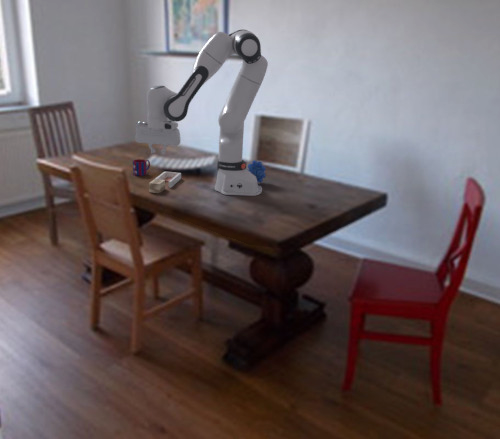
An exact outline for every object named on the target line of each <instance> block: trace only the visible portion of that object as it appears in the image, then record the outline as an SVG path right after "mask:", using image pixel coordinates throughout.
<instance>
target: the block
mask: <svg viewBox="0 0 500 439" xmlns="http://www.w3.org/2000/svg"><path fill="white" fill-rule="evenodd" d="M164 190H166V181H165V180H160V179H155V178H154V179H153V180H151V181H150V182H148V192H149V193H152V194H153V193H154V194H155V193H156V194H161V193H162V192H164Z"/></svg>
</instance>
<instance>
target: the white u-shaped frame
mask: <svg viewBox="0 0 500 439" xmlns="http://www.w3.org/2000/svg"><path fill="white" fill-rule="evenodd" d="M154 179H160V180H165V182H168V188H169V189H171V188H173V186H175V185H176V184H177V183H178V182H180V180H181V179H182V173H181V172H173V171H163V172H162V173H161V174H159V175H158V176H156V177H155V178H154Z"/></svg>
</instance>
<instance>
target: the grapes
mask: <svg viewBox="0 0 500 439" xmlns="http://www.w3.org/2000/svg"><path fill="white" fill-rule="evenodd" d="M247 169H248V170H249V171H250V172H251V173H252V174H253V175H255V176H256V178H257V183H262V182H263V181H264V180H263V179H264V178H266V176H267V175H266V166H265V165H263V162H262V161H261V160H259V161H257V160H253V161H252V163H249V164H248V165H247Z"/></svg>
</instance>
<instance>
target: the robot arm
mask: <svg viewBox="0 0 500 439" xmlns="http://www.w3.org/2000/svg"><path fill="white" fill-rule="evenodd" d="M261 48H262V47H261V42H260V39H259V37H257V36H256V34H255V33H253V32H252V31H249V30H248V29H239V30H235V31H233V32H231V33H229V34H228V33H226V32H224V31H217V32H215V33H214V34H213V35H212V36H211V37H210V38H209V39H208V41H206V43H205V44H204V45H203V46H202V48H201V49H200V51H199V52H198V53H197V54H198V55H197V56H196V58H195V59H194V63H193V64H192V70H191V72H190V74H189V77H188V78H187V79H186V81H185V82H184V84H183V86H182V87H181V88H180V90H179V91H178V92H175V91H172V90H171V89H169V88H167V87H166V86H165V85H156V86H152V87H150V88H149V89H148V91H147V93H146V94H147V96H146V107H147V117H146V118H147V119H146V120H147V121H143V122H142V121H138V122H137V123H135V138H134V139H135V141H136V143H139V144H147V145H148V148H149V149H150V154H156V149H155V148H154V147H153V146H154V145H162V149H161V150H160V155H165V154H166V150H167V148H168V146H173V147H174V146H175V147H177V146H179V145H180V144H181V133H180V130H179V129H178V127H179V123H178V122H181V121H182V120H184V119H185V118H186V117H187V116H188V115H187V114H188V110H189V106H190V104H191V102H192V100H193V99H194V98H195V96H196V95H197V93H198V92H199V91H200V89H201V88H202V87H203V86H204V84H206V83H207V82H208V81H209V80H210V79H211V78H212V77H213V76H215V75H216V74H217V72H219V71H220V69H221V68H222V67H223V65H224V63H225V62H226V61H227V59H229V57H231V56H232V55H237V56H238V57H239V58H240V59H242V63H241V68H240V70H239V72H238V73H237V76H236V78H235V80H234V83H233V85H232V87H231V89H230V92H229V93H228V96H227V98H226V100H225V102H224V105H223V107H222V109H221V111H220V113H219V115H218V120H217V121H218V126H219V136H218V137H219V138H218V158H217V161H216V162H217V163H216V170H217V176H216V181H215V185H214V190H215V191H216V192H219V193H221V194H222V195H224V196H225V195H227V196H229V195H230V196H250V197H256V196H258V195H260V194H261V193H262V192H263V188H262V186H261V185H259V184H258V183H259V182H258V183H257V178H256V176H255V175H253V174H252V173H251V172H250V171H249V170H250V169H248V168H247V161H245V160H243V149H244V146H243V145H244V133H245V120H246V119H247V116H248V115H249V113H250V112H249V111H251V107H252V105H253V103H254V101H255V98H256V96H257V94H258V92H259V90H260V88H261V86H262V83H263V82H264V79H265V76H266V73H267V71H268V70H267V69H268V59H266V57H264V56H263V55H262V49H261Z"/></svg>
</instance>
